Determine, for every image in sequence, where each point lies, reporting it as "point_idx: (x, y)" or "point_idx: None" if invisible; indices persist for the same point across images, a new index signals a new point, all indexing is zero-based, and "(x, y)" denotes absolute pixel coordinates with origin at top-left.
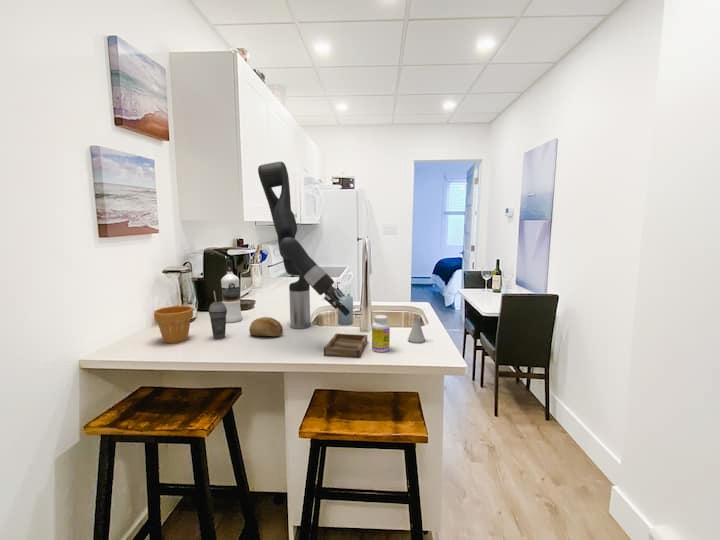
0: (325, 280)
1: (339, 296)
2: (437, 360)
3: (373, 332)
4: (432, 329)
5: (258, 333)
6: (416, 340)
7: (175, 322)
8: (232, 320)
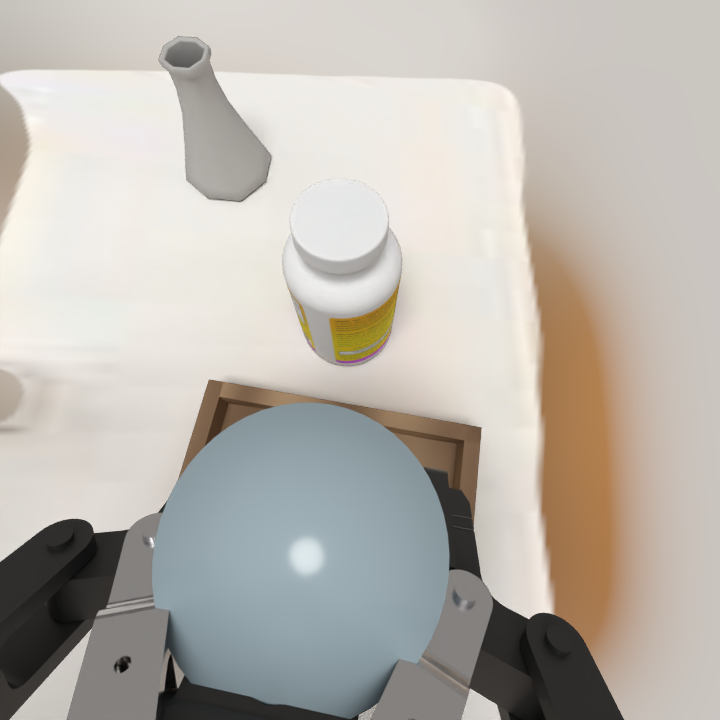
0: None
1: (216, 696)
2: (468, 133)
3: (373, 321)
4: (77, 90)
5: None
6: (262, 164)
7: None
8: None
